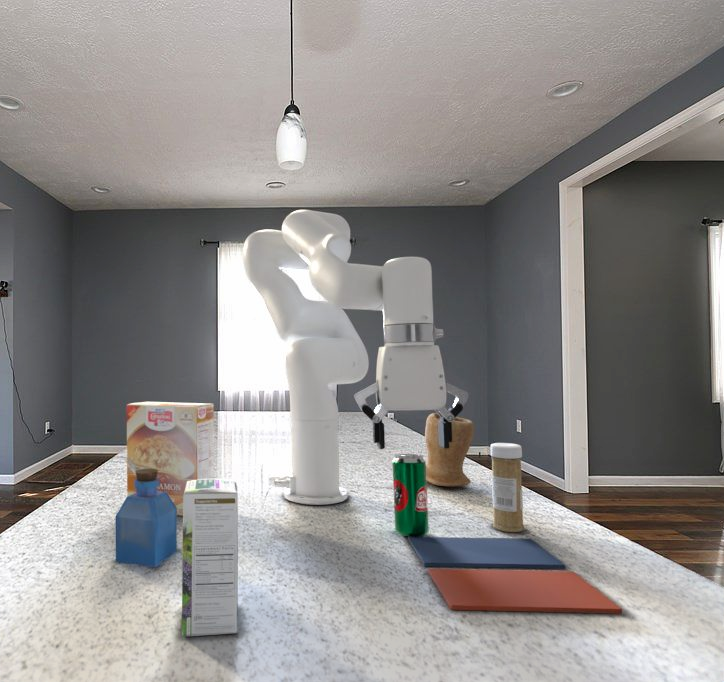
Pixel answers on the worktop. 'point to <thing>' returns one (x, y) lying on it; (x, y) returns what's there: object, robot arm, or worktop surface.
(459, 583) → the terracotta mat
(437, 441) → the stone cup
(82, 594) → the worktop surface
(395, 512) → the soda can
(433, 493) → the worktop surface
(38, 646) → the worktop surface
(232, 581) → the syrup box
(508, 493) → the sprinkles bottle
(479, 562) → the slate-blue mat
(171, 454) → the coffeecake box
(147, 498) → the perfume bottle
